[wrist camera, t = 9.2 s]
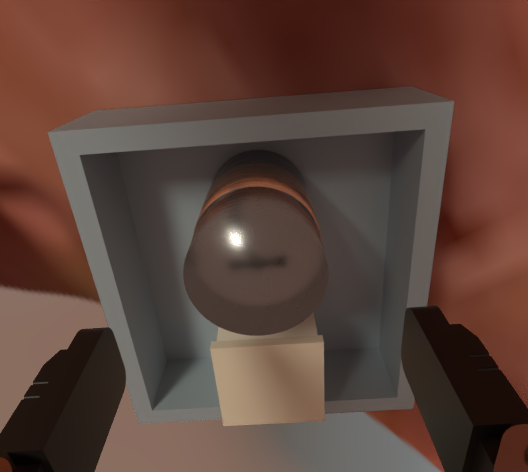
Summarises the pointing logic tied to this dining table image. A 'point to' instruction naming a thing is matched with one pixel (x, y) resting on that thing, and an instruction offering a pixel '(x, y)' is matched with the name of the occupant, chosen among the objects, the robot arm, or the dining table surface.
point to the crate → (326, 210)
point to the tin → (256, 248)
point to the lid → (270, 379)
